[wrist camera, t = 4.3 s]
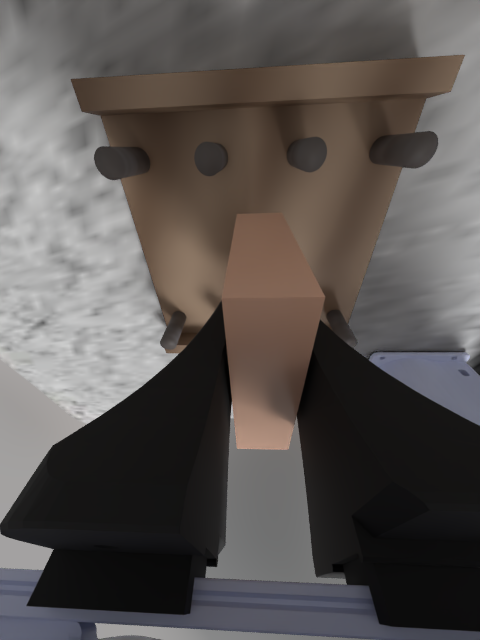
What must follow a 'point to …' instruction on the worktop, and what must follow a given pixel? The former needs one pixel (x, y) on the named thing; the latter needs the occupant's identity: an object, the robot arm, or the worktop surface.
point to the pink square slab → (268, 328)
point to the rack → (262, 168)
